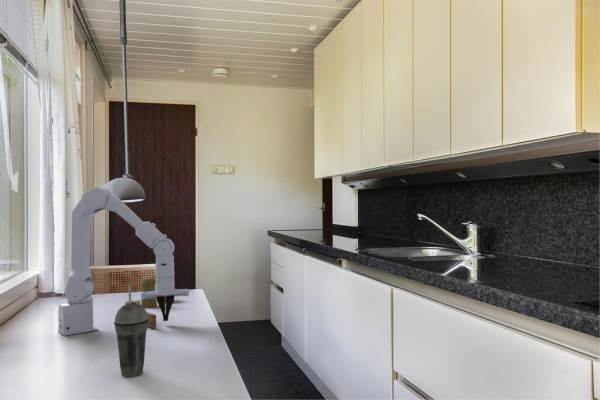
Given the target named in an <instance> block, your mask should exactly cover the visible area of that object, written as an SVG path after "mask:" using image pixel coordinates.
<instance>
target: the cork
mask: <svg viewBox="0 0 600 400" xmlns="http://www.w3.org/2000/svg"><path fill="white" fill-rule="evenodd" d="M140 283H141V286H142V291H141V292H150V291H156V277H149V276H148V277H144V278H142V279H141V282H140ZM140 305H141V306H142V307H143V308H144V309H151V308H152V309H153V308H157V307H158V302H157V299H156V298H149V299H140Z"/></svg>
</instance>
